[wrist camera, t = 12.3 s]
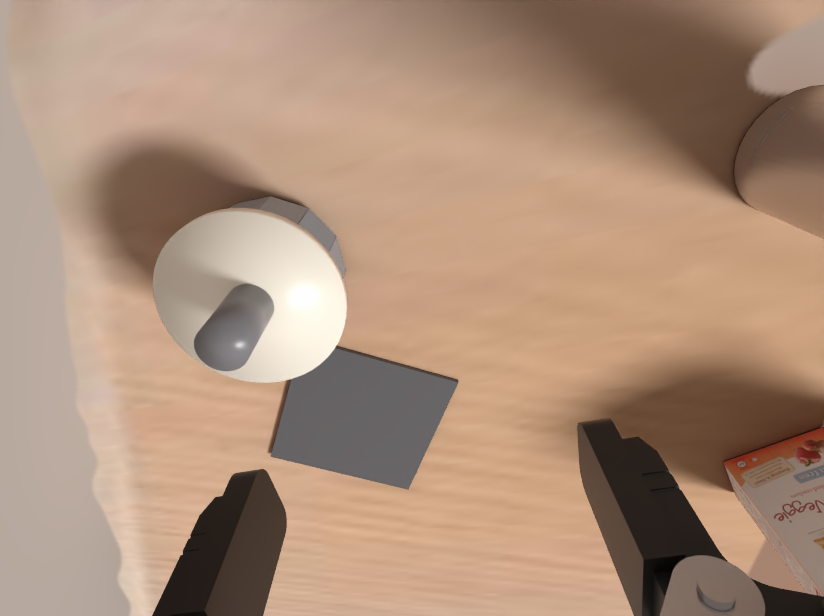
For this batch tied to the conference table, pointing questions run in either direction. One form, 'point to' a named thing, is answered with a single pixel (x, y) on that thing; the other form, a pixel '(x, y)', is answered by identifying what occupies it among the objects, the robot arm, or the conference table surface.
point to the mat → (362, 417)
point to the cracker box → (787, 501)
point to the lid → (250, 295)
